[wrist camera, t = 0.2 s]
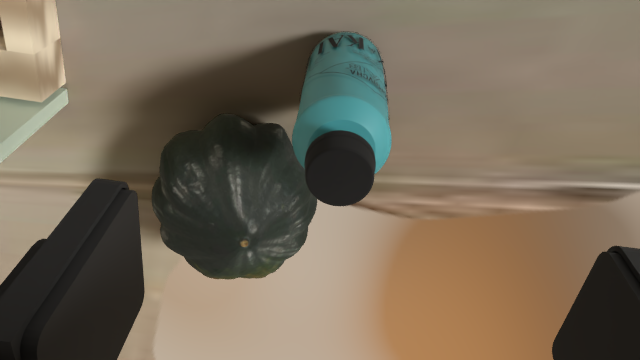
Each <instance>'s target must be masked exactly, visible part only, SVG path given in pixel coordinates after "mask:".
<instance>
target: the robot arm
mask: <svg viewBox="0 0 640 360" xmlns="http://www.w3.org/2000/svg"><path fill="white" fill-rule="evenodd" d="M143 298H144V277H143V264H142V251H141V237H140V224H139V211H138V198H137V193H136V191H134V190H129V187H128V185H127V183H126V182H121V181H113V180H106V179H95V180H93V181H92V183H91V184H90V185H89V186H88V188H87V189H86V190H85V191H84V193H83V194H82V195H81V196H80V198H79V199H78V200H77V202H76V203H75V204H74V205H73V207H72V208H71V209H70V210H69V212H68V213H67V214H66V215H65V217H64V218H63V219H62V221H61V222H60V223H59V224H58V226H57V227H56V228H55V229H54V231H53V232H52V233H51V234H50V236H49V237H48V238H47V239H41V240H39V241H37V242H36V243H35V244H34V245H33V246H32V247H31V248H30V249H29V251H28V252H27V253H26V254H25V256H24V257H23V258H22V259H21V261H20V262H19V263H18V264H17V266H16V267H15V268H14V269H13V270H12V272H11V273H10V274H9V275H8V277H7V278H6V279H5V280H4V282H3V283H2V284H1V285H0V360H117V358H118V356H119V354H120V352H121V349H122V347H123V345H124V343H125V341H126V339H127V337H128V334H129V332H130V330H131V328H132V326H133V324H134V321H135V319H136V317H137V315H138V313H139V311H140V308H141V306H142V303H143ZM552 354H553V359H554V360H640V249H637V248H629V247H621V246H613V247H611V248H610V249H608V251H607V252H602V253H601V254H600V255H599V256H598V258H597V260H596V261H595V263H594V265H593V267H592V269H591V271H590V273H589V275H588V277H587V279H586V281H585V283H584V285H583V286H582V288H581V290H580V292H579V294H578V296H577V298H576V300H575V302H574V304H573V305H572V307H571V309H570V312H569V313H568V315H567V317H566V319H565V321H564V323H563V325H562V327H561V328H560V330H559V332H558V334H557V336H556V338H555V340H554V342H553V347H552Z"/></svg>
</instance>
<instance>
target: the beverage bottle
mask: <svg viewBox="0 0 640 360" xmlns="http://www.w3.org/2000/svg"><path fill="white" fill-rule="evenodd" d="M361 35H362V34H361ZM361 35H359V33H358V34H356V32H355V33H351V32H349V31H343V32H341V33H337V32H336V34H334V33H333V35H331V34H330V36H328V37H326V38H325V37H324V38H325V39H323V40H322V41H321V40H320V41H321V42H319V43H318V44H317V45H316V46H314V47H316V48H315V49H314V50H312V51H313V53H312V55H310V56H311V57H309V59H308V61H307V62H308V63H307V67H308V70H306V71H307V74H306V75H305V76H306V78H305V77H304V78H305V79H304V80H305V82H304V83H303V84H304V86H303V87H302V88H303V90H302V91H301V92H302V95H300V96H301V102H300V106H299V111H298V116H297V120H296V123H295V125H294V129H293V135H292V144H293V150H294V153H295V155H296V157H297V159H298V161H299V162H300V164H301V165H302V167H303V168H304V169H305V179H306V184H307V186H308V188H309V190H310V192H311V193H312V194H313V195H314V196H315V197H316V198H317V199H318V200H320V201H322V202H323V203H326V204H329V205H333V206H347V205H351V204H354V203H356V202H359V201H360V200H362V199H363V198H364V197H365V196H366V195H367V194H368V193H369V191H370V189H371V188H372V185H373V182H374V174H375V173H376V172H378V171H379V170H380V169H381V167H382V166H383V165H384V163H385V162H386V160H387V158H388V155H389V153H390V149H391V131H390V127H389V121H388V120H390V119H388V107H387V101H388V99H387V98H386V97H387V96H388V95H387V94H386V91H385V90H386V88H387V85H386V84H385V81H384V75H383V74H385V71H384V73H383V69H384V67H382V66H383V63H384V61H382V60H383V59H382V60H381V57H380V54H381V53H379V52H380V50H379V52H378V50H377V49H376V48H378V47H376V46H374V44H372V42H370V40H368V39H369V38H368V39H367V38H365V37H366V36H365V37H363V36H364V35H363V36H361ZM381 56H382V55H381ZM309 60H310V61H309ZM382 62H383V63H382ZM308 64H309V65H308ZM307 67H306V69H307ZM305 73H306V72H305ZM385 78H386V75H385ZM385 87H386V88H385ZM299 94H300V93H299ZM386 95H387V96H386ZM299 99H300V98H299ZM389 109H390V107H389Z"/></svg>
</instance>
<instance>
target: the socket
mask: <svg viewBox="0 0 640 360" xmlns="http://www.w3.org/2000/svg"><path fill="white" fill-rule="evenodd" d="M0 18H1V23H2V28H3V29H0V96H1V97H8V98H15V99H22V100H29V101H35V102H43V101H44V100H45V99H47V98H48V97H49V96H50V95H51V94H53V93H54V92H55V91H56V90H58V89H59V88H60V87H61V86H63V85H64V84H65V83H66V78H65V70H64V63H63V55H62V47H61V39H60V32H59V24H58V16H57V8H56V1H55V0H0Z"/></svg>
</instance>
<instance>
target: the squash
mask: <svg viewBox="0 0 640 360" xmlns="http://www.w3.org/2000/svg"><path fill="white" fill-rule="evenodd" d="M152 206H153V210H154V212H155V214H156V216H157V218H158V219H159V221H160V222H161V229H160V231H161V237H162V240H163V242H164V243H165V245H166V246H167V247H168V248H170V249H171V250H173V251H174V252H176V253H178V254H180V255H182V256H184V258H185V259H186V261H187V262H188V263H189V264H190V265H191V266H192V267H193V268H195V269H196V270H197V271H199V272H201V273H202V274H203V275H205V276H207V277H209V278H214V279H235V278H238V277H241V278H263V277H266V276H267V275H268V274H270V273H273V272H275V271H276V270H277V269H278V268H279V267H280V266H281V265H282V264H283V263H284V261H285V260H286V259H288V258H290V257H292V256H293V255H294V254H295V253H297V252H298V251H299V250H300V248H301V247H302V245H303V244H304V243H305V240H306V237H307V232H308V225H309V224H310V222H311V220H312V218H313V216H314V214H315V211H316V206H317V198H316V197H315V196H314V195H313V194H312V193H311V192H310V190H309V188H308V186H307V184H306V179H305V169H304V168H303V167H302V165H301V164H300V162H299V161H298V159H297V157H296V155H295V153H294V150H293V146H292V144H291V142H290V140H289V138H288V136H287V133H286V132H285V130H284V129H283V127H282V126H280V125H279V124H274V123H265V124H258V125H255V126H253V125H252V124H251V123H249V122H248V121H246V120H244V119H242V118H241V117H239V116H237V115H233V114H221V115H219V116H217V117H215V118H214V119H213V120H212V121H211V122H209V123H208V124H207V125H206V127H205V128H204V129H203V130H202V131H187V132H183V133H179V134H177V135H176V136H174V137H173V138H172V139H171V140H170V141H169V142H168V143H167V145H166V146H165V147H164V149H163V151H162V154H161V160H160V177H159V178H158V179H157V180H156V182H155V184H154V187H153V190H152Z"/></svg>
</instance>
